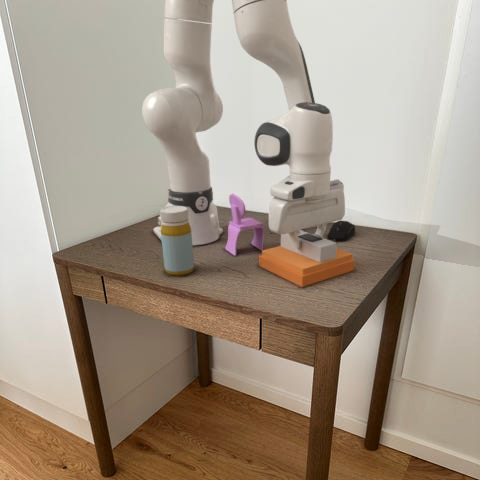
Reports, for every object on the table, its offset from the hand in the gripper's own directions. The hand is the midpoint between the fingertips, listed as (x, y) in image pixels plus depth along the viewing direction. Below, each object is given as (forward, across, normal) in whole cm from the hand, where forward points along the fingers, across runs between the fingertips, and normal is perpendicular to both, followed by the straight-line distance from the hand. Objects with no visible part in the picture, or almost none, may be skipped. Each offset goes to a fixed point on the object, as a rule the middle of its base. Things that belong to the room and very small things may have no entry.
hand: (307, 245), depth 107 cm
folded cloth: (+6, 0, 0) cm, 6 cm away
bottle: (+6, +25, -17) cm, 31 cm away
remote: (+2, 0, 0) cm, 2 cm away
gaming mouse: (+6, -23, -12) cm, 27 cm away
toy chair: (+6, +4, -20) cm, 21 cm away
